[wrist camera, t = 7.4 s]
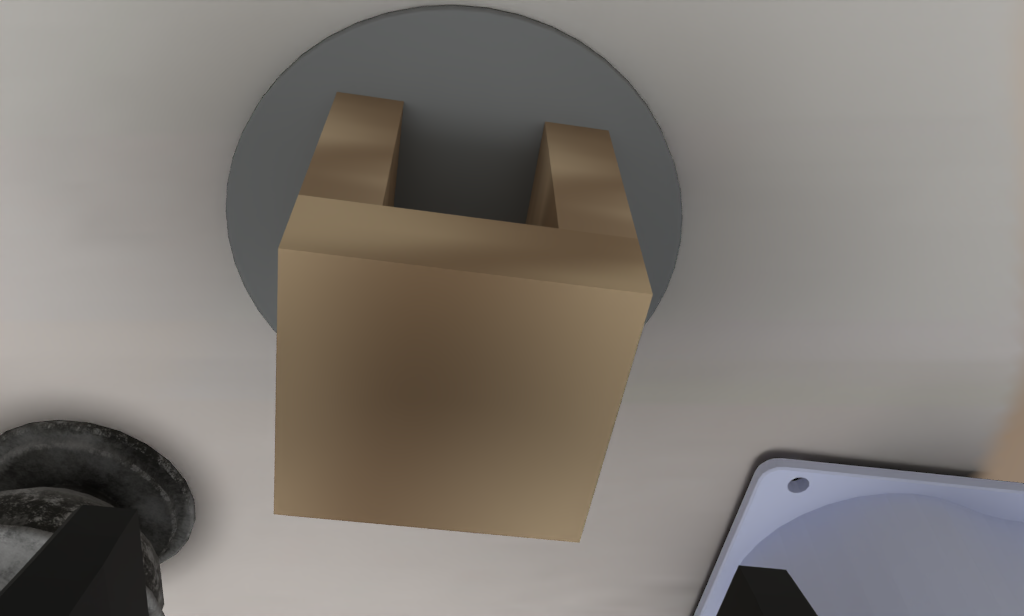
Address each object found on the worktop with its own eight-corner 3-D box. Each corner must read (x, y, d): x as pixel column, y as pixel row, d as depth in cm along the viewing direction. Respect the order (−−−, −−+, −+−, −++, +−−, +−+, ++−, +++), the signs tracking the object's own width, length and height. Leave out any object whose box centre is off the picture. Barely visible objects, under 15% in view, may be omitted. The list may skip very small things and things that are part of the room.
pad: (735, 45, 16) (739, 53, 16) (623, 418, 21) (625, 429, 21) (225, -32, 15) (220, -26, 15) (234, 377, 20) (229, 388, 20)
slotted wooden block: (608, 130, 17) (653, 293, 12) (558, 344, 20) (579, 542, 15) (336, 91, 16) (278, 248, 12) (325, 317, 19) (274, 514, 14)
